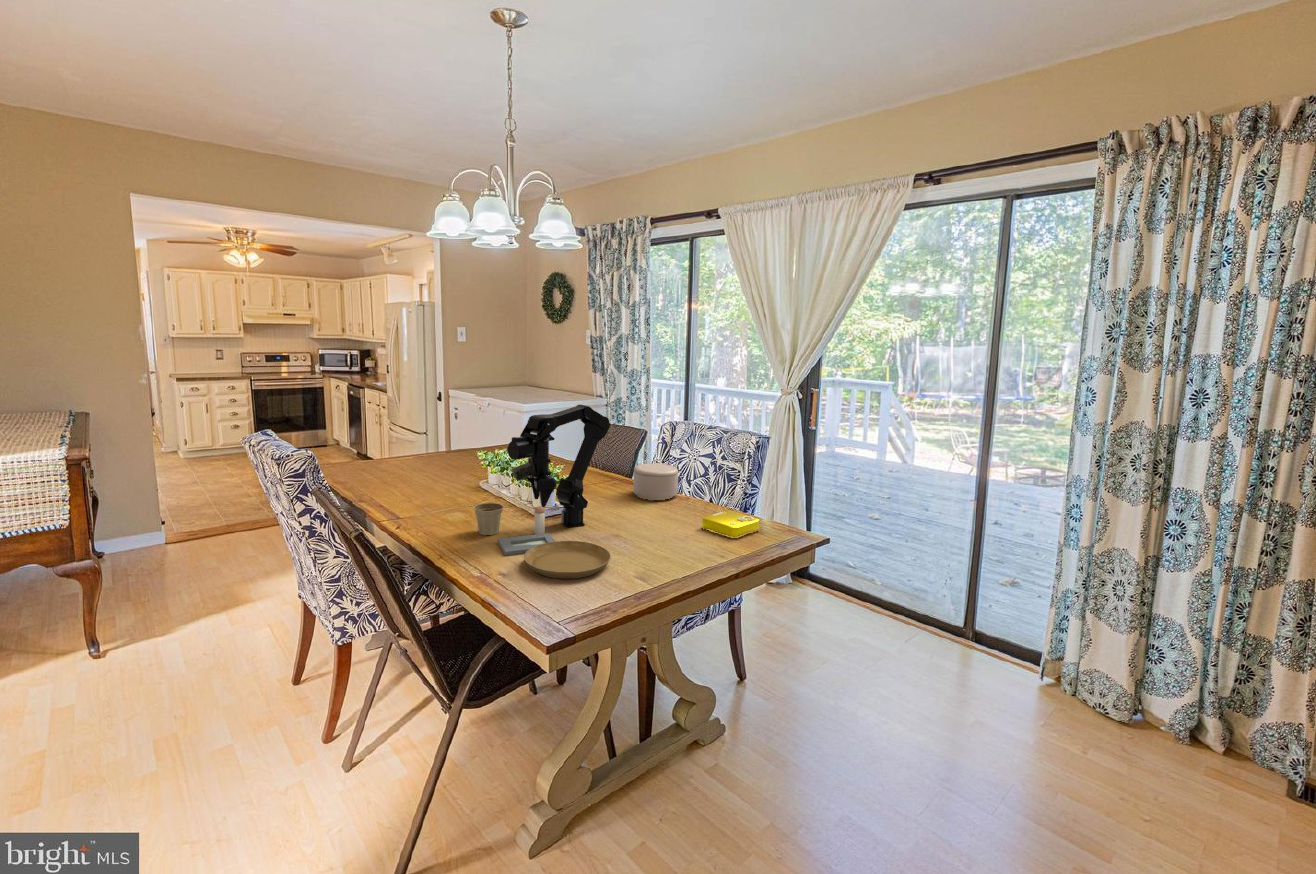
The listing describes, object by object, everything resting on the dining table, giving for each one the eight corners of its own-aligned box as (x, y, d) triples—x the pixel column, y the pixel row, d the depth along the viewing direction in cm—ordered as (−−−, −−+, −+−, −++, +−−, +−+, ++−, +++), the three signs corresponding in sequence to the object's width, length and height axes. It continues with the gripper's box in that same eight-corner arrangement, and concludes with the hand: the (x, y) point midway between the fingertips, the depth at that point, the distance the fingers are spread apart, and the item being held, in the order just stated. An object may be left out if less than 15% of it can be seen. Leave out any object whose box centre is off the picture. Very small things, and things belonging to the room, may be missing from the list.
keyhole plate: (548, 536, 197) (548, 533, 197) (559, 549, 187) (559, 545, 186) (497, 542, 191) (497, 538, 191) (505, 555, 180) (505, 551, 180)
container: (637, 502, 240) (637, 472, 238) (629, 490, 257) (630, 462, 255) (682, 501, 244) (683, 472, 242) (671, 489, 261) (673, 462, 259)
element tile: (727, 521, 222) (727, 508, 221) (761, 531, 212) (762, 518, 211) (699, 529, 212) (700, 515, 211) (733, 540, 201) (734, 526, 200)
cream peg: (543, 531, 202) (543, 506, 201) (545, 534, 199) (545, 508, 198) (533, 532, 201) (533, 507, 199) (535, 535, 198) (535, 509, 197)
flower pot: (495, 538, 194) (495, 512, 192) (468, 535, 196) (467, 509, 194) (508, 529, 203) (508, 504, 201) (482, 526, 205) (482, 501, 203)
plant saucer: (620, 556, 184) (621, 545, 183) (594, 588, 161) (594, 576, 160) (545, 547, 189) (545, 536, 189) (508, 577, 166) (508, 565, 165)
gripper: (508, 451, 201) (508, 497, 203) (520, 463, 184) (521, 513, 187) (542, 449, 205) (542, 494, 208) (557, 460, 189) (557, 510, 191)
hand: (539, 502), depth 198 cm, fingers open, 9 cm apart
